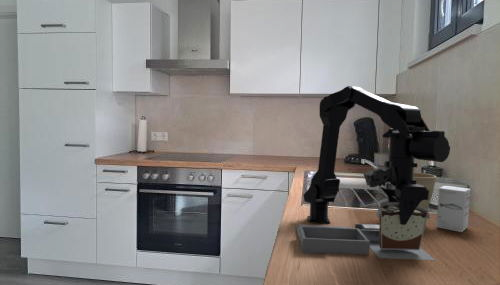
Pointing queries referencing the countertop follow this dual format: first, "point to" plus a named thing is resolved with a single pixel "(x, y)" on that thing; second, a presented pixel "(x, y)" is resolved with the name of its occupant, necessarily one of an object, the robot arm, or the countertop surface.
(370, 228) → the silver metal bar
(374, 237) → the bracket
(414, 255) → the grey mat
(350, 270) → the countertop surface
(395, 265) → the countertop surface
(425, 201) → the plant pot
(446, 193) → the supplement box
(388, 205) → the food container
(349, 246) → the case
